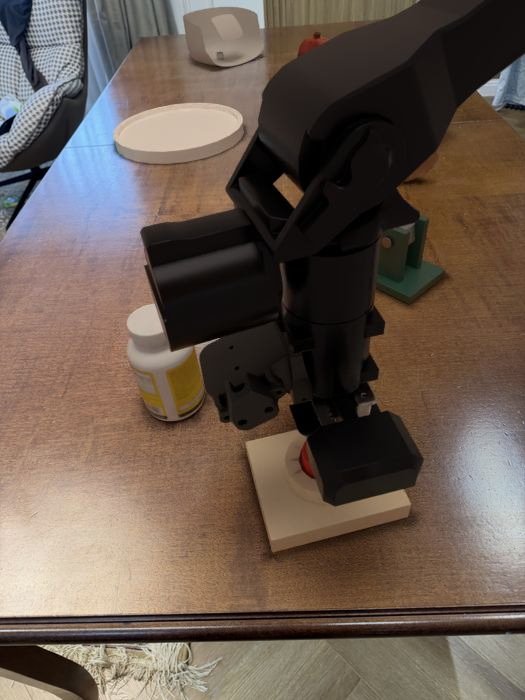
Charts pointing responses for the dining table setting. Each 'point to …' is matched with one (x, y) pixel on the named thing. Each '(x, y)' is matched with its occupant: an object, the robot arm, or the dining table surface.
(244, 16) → the grey curved shell
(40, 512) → the dining table surface
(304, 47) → the fruit
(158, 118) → the plate
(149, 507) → the dining table surface
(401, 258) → the bracket
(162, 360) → the pill bottle
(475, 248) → the dining table surface
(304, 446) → the button
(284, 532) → the button box
